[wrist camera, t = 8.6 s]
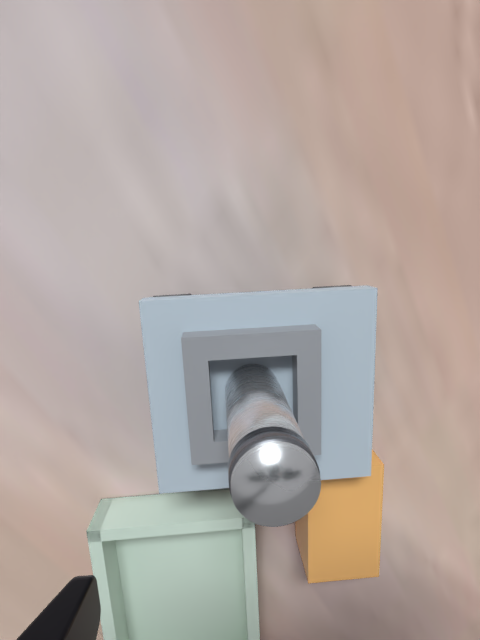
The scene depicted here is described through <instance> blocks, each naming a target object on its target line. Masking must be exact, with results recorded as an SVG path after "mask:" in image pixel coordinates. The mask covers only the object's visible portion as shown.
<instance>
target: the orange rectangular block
mask: <svg viewBox="0 0 480 640" xmlns="http://www.w3.org/2000/svg"><path fill="white" fill-rule="evenodd" d="M383 477H384V464H383V463H382V461H381V460H380V459H379V458H378V456H377V455H376V454H375V452H374V451H373V450H372V461H371V476H365V477H353V478H341V479H329V480H321V490H320V494H319V497H318V500H317V502H316V503H315V505H314V506H313V508H312V509H311V510H310V511H309V512H308V513H307V514H306V515H305V516H304V517H302V518H301V519H299V520H297V521H295V536H296V540H297V544H298V547H299V551H300V555H301V558H302V562H303V566H304V569H305V573H306V577H307V580H308V583H318V582H328V581H338V580H349V579H359V578H369V577H379V564H380V542H381V521H382V499H383Z"/></svg>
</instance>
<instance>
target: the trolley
mask: <svg viewBox="0 0 480 640" xmlns="http://www.w3.org/2000/svg"><path fill="white" fill-rule="evenodd" d="M139 308H140V317H141V327H142V336H143V345H144V355H145V364H146V373H147V383H148V392H149V401H150V411H151V420H152V429H153V439H154V448H155V457H156V467H157V476H158V485H159V494H162V493H174V492H186V491H198V490H210V489H222V488H229V480H228V461H229V450H228V433H227V416H226V400H225V385H226V382H227V380H228V378H229V376H230V375H231V374H232V372H234V371H235V370H236V369H237V368H239V367H241V366H244V365H247V364H259V365H262V366H265V367H267V368H268V369H270V370H271V371H272V372H273V373H274V374H275V376H276V378H277V380H278V382H279V384H280V386H281V388H282V391H283V393H284V395H285V397H286V400H287V402H288V404H289V406H290V408H291V411H292V413H293V415H294V417H295V419H296V422H297V424H298V426H299V428H300V431H301V433H302V435H303V437H304V439H305V441H306V442H307V443H308V445H309V447H310V449H311V451H312V453H313V455H314V457H315V459H316V462H317V464H318V467H319V471H320V478H321V480H329V479H341V478H353V477H365V476H371V461H372V432H373V403H374V374H375V344H376V315H377V288H375V287H371V286H351V285H345V286H326V287H313V288H312V289H295V290H277V291H258V292H240V293H222V294H204V295H191V294H180V295H162V296H153V297H149V298H143V299H141V300H140V301H139Z"/></svg>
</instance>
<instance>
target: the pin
mask: <svg viewBox="0 0 480 640" xmlns="http://www.w3.org/2000/svg"><path fill="white" fill-rule="evenodd" d="M225 400H226V416H227V433H228V450H229V461H228V480H229V491H230V494H231V497H232V499H233V502H234V505H235V507H236V508H237V510H238V511H239V512H240V513H241V514H242V515H243V516H244V517H245V518H246V519H248V520H249V521H251V522H253V523H255V524H259V525H262V526H269V527H278V526H284V525H288V524H291V523H293V522H295V521H297V520H299V519H301V518H302V517H304V516H305V515H306V514H307V513H308V512H309V511H310V510H311V509H312V508H313V506H314V505H315V503H316V502H317V500H318V497H319V494H320V490H321V478H320V471H319V467H318V464H317V462H316V459H315V457H314V455H313V453H312V451H311V449H310V447H309V445H308V443H307V442H306V441H305V439H304V437H303V435H302V433H301V431H300V428H299V426H298V424H297V422H296V419H295V417H294V415H293V413H292V411H291V408H290V406H289V404H288V402H287V400H286V397H285V395H284V393H283V391H282V388H281V386H280V384H279V382H278V380H277V378H276V376H275V374H274V373H273V372H272V371H271V370H270V369H268V368H267V367H265V366H262V365H259V364H247V365H244V366H241V367H239V368H237V369H236V370H235V371H234V372H232V374H231V375H230V376H229V378H228V380H227V382H226V385H225Z"/></svg>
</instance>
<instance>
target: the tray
mask: <svg viewBox="0 0 480 640" xmlns="http://www.w3.org/2000/svg"><path fill="white" fill-rule="evenodd" d="M86 532H87V538H88V544H89V550H90V557H91V563H92V569H93V575H94V576H95V577H96V580H97V585H98V592H99V598H100V605H101V616H100V619H101V625H102V631H103V638H104V640H260V631H259V608H258V586H257V563H256V540H255V523H253V522H251V521H249V520H248V519H246V518H245V517H244V516H243V515H242V514H241V513H240V512H239V511H238V510H237V508H236V507H235V505H234V502H233V499H232V497H231V494H230V491H229V488H226V489H214V490H202V491H190V492H178V493H166V494H154V495H143V496H131V497H119V498H107V499H101V500H100V503H99V505H98V507H97V509H96V512H95V514H94V516H93V518H92V520H91V523H90V525H89V527H88V529H87V531H86Z"/></svg>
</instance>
